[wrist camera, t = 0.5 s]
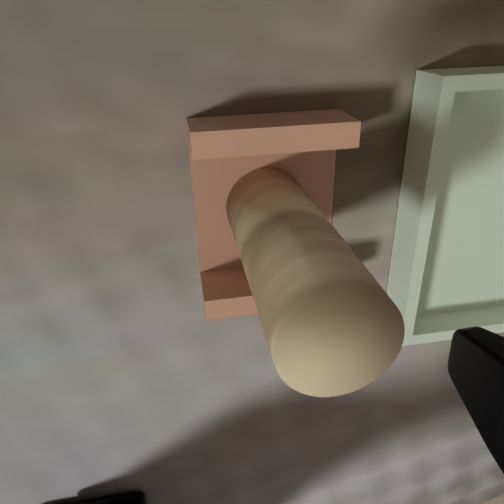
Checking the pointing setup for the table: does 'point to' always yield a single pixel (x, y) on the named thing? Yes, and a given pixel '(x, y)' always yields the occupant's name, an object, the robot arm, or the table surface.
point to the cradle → (248, 159)
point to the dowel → (310, 289)
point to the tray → (451, 206)
